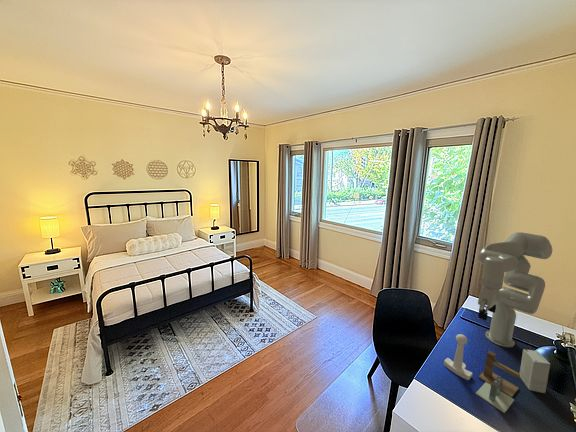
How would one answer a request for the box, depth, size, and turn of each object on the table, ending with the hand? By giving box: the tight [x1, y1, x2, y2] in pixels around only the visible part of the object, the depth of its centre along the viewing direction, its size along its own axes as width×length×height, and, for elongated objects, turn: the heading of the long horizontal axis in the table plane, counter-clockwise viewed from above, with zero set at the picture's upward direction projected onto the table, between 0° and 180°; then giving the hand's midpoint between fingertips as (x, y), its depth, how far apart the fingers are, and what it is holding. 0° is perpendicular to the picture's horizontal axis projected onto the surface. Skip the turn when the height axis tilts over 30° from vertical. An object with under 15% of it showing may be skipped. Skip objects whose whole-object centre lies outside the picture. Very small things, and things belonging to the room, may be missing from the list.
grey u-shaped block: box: [489, 375, 505, 402], centre depth 103 cm, size 7×2×8 cm, turn 121°
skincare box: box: [518, 348, 551, 394], centre depth 108 cm, size 8×6×15 cm
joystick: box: [443, 333, 473, 381], centre depth 116 cm, size 11×8×20 cm
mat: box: [475, 381, 515, 414], centre depth 104 cm, size 10×10×1 cm
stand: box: [478, 350, 520, 398], centre depth 109 cm, size 8×12×13 cm, turn 31°
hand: (486, 315), depth 116 cm, fingers open, 9 cm apart
